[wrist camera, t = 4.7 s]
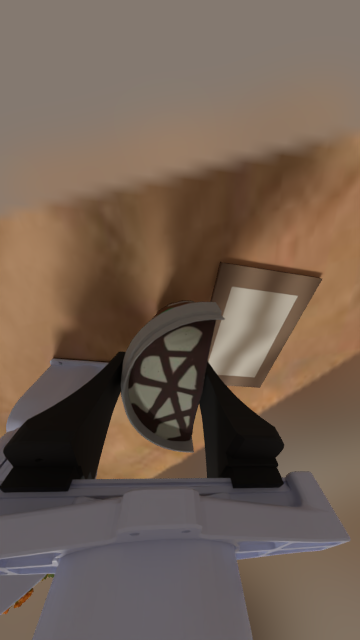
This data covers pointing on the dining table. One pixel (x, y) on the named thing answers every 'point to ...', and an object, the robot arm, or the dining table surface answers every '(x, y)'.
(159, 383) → the food container
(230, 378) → the brown picture frame
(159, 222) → the dining table surface
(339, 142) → the dining table surface
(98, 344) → the dining table surface
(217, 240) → the dining table surface
